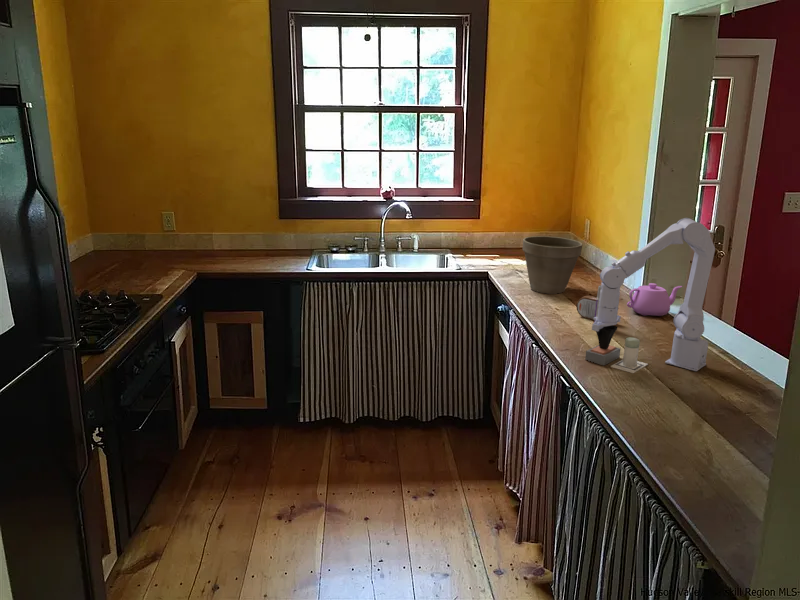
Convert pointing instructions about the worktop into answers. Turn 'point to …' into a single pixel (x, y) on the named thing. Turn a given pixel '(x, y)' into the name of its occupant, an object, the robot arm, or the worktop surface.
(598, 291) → the container
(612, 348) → the button
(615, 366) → the paper sheet
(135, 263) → the worktop surface
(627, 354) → the marker
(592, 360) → the button housing
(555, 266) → the plant pot
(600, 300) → the robot arm
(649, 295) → the teapot
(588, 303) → the tin
